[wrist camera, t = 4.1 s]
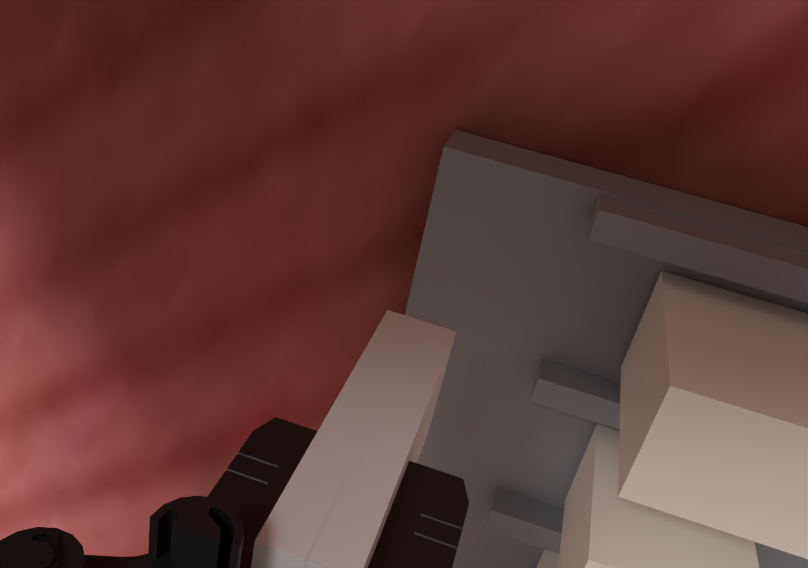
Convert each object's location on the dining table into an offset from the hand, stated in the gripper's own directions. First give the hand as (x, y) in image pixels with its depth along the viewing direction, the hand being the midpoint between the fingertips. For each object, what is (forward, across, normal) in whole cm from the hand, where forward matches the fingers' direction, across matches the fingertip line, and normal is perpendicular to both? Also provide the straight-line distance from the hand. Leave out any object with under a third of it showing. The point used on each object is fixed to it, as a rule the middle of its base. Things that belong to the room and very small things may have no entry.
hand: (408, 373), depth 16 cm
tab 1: (+5, +7, 0) cm, 8 cm away
